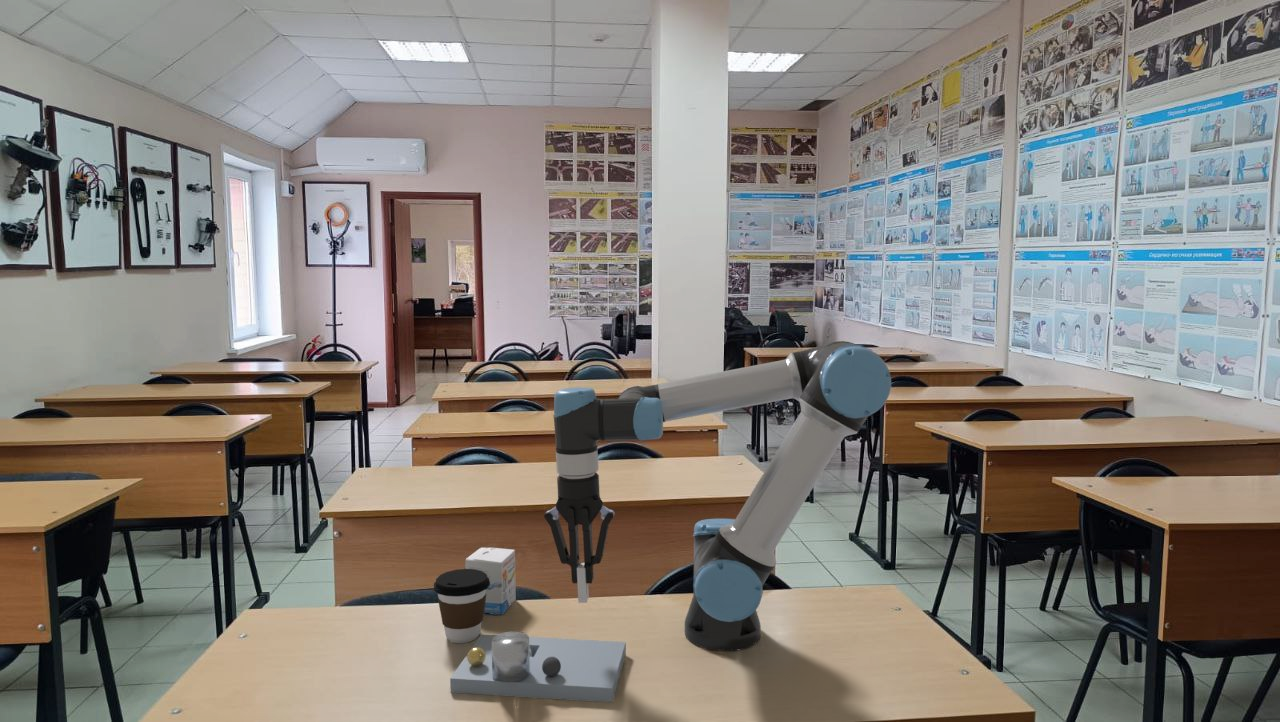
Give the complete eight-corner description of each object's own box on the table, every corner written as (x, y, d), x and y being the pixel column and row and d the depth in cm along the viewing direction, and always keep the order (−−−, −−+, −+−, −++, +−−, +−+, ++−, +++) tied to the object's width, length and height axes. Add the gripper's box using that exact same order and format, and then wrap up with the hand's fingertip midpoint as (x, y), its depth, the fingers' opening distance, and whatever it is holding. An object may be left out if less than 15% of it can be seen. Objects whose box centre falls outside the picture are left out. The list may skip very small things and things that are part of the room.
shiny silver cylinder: (533, 665, 138) (533, 632, 137) (524, 683, 132) (523, 649, 131) (498, 663, 139) (497, 630, 138) (487, 681, 132) (486, 647, 132)
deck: (625, 654, 148) (625, 642, 148) (612, 702, 131) (612, 688, 131) (481, 646, 151) (481, 634, 151) (450, 692, 134) (450, 678, 134)
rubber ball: (562, 671, 136) (562, 653, 136) (558, 680, 133) (558, 662, 133) (544, 670, 137) (544, 652, 136) (540, 679, 134) (540, 661, 133)
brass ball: (488, 661, 140) (487, 644, 140) (482, 670, 137) (482, 652, 137) (470, 660, 140) (470, 643, 140) (464, 669, 137) (464, 651, 137)
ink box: (502, 615, 165) (501, 562, 164) (464, 612, 167) (463, 559, 166) (517, 599, 174) (516, 548, 172) (481, 596, 175) (480, 545, 174)
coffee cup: (472, 652, 149) (471, 591, 148) (423, 644, 152) (421, 584, 151) (501, 628, 159) (500, 571, 158) (454, 621, 163) (452, 565, 161)
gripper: (616, 468, 145) (621, 591, 147) (546, 469, 146) (553, 591, 148) (610, 478, 137) (616, 608, 139) (537, 479, 138) (544, 607, 141)
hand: (583, 599), depth 144 cm, fingers closed
